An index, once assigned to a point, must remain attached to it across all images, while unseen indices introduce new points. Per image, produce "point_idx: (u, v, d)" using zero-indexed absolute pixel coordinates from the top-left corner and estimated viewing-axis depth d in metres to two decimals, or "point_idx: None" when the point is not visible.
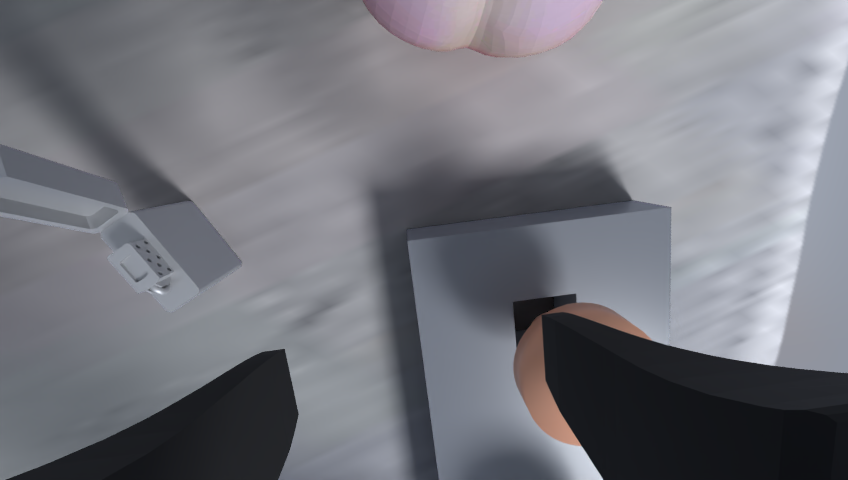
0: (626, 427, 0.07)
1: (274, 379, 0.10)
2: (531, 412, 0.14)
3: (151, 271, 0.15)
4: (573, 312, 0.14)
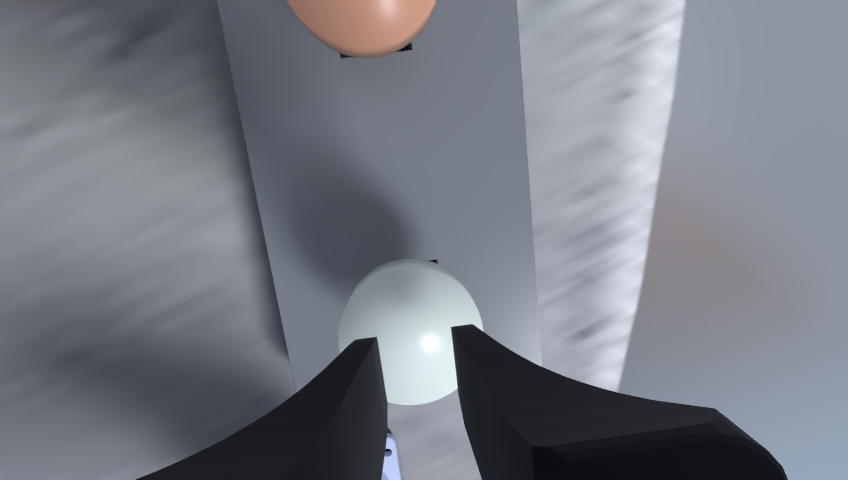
0: (489, 446, 0.07)
1: (375, 365, 0.10)
2: None
3: None
4: None
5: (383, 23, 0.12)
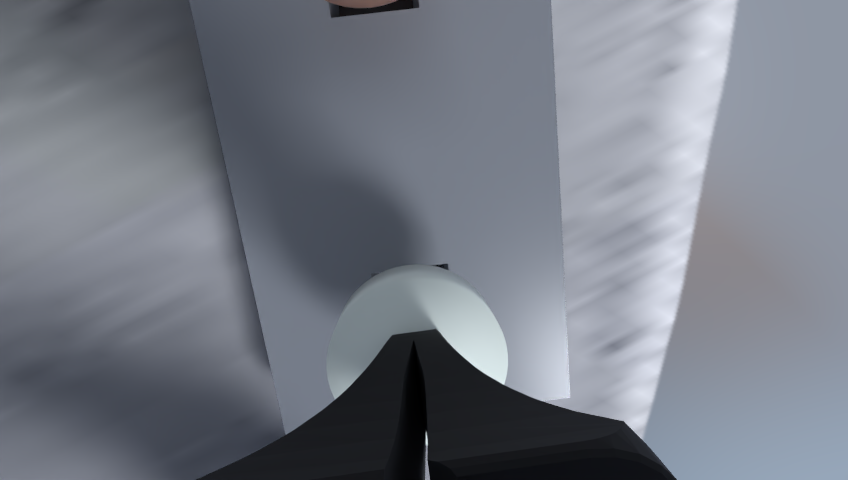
0: None
1: (415, 360, 0.10)
2: None
3: None
4: None
5: None
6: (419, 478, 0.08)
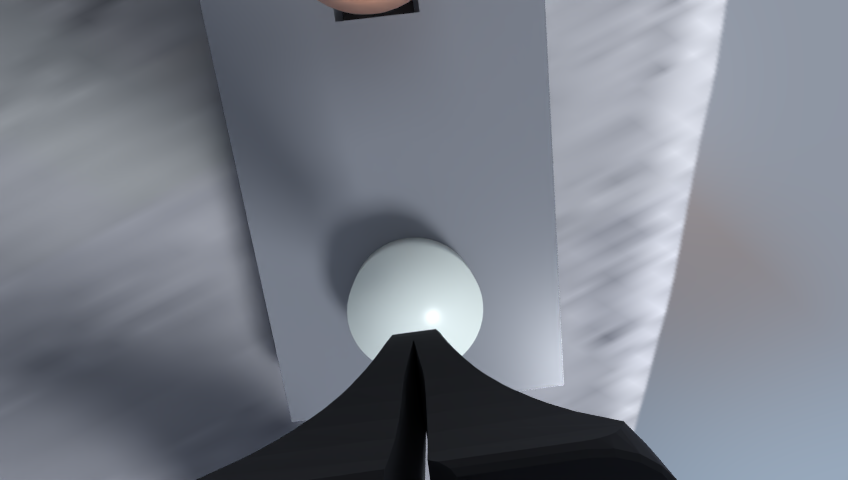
0: None
1: (415, 360, 0.10)
2: None
3: None
4: None
5: None
6: (419, 478, 0.08)
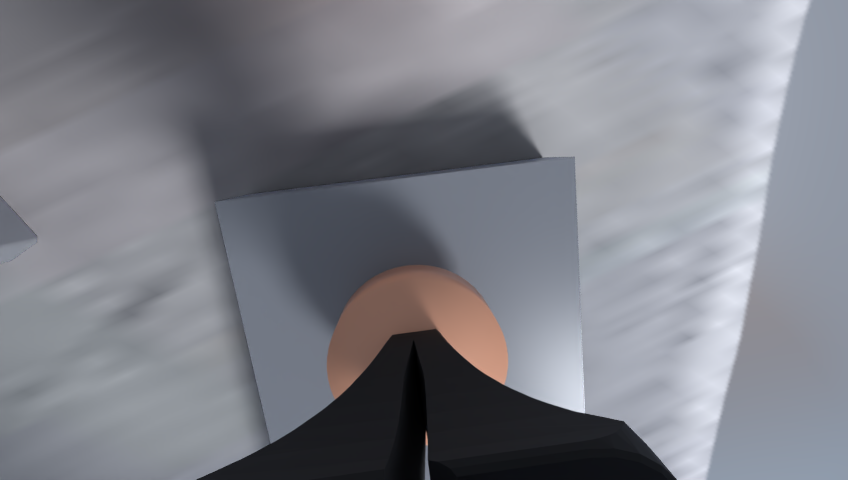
0: None
1: (416, 360, 0.10)
2: None
3: None
4: (394, 274, 0.11)
5: None
6: (419, 478, 0.08)
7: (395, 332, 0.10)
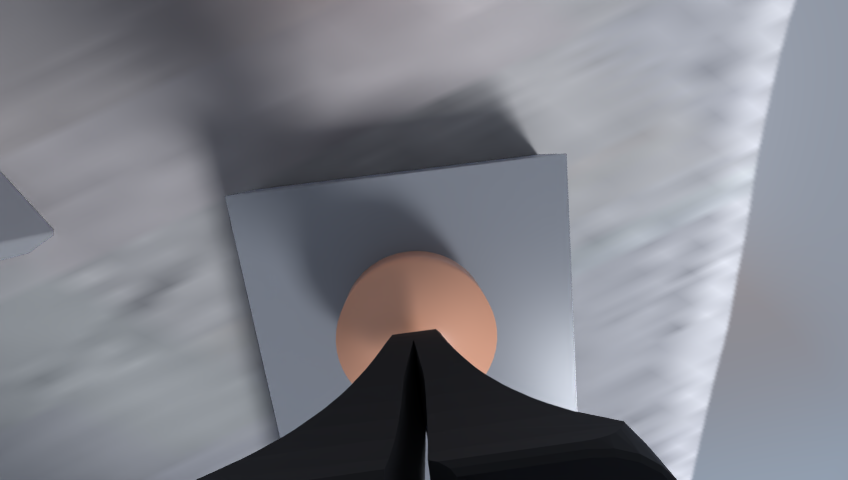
0: None
1: (415, 360, 0.10)
2: (346, 372, 0.12)
3: None
4: (396, 259, 0.12)
5: None
6: (419, 478, 0.08)
7: (396, 309, 0.12)
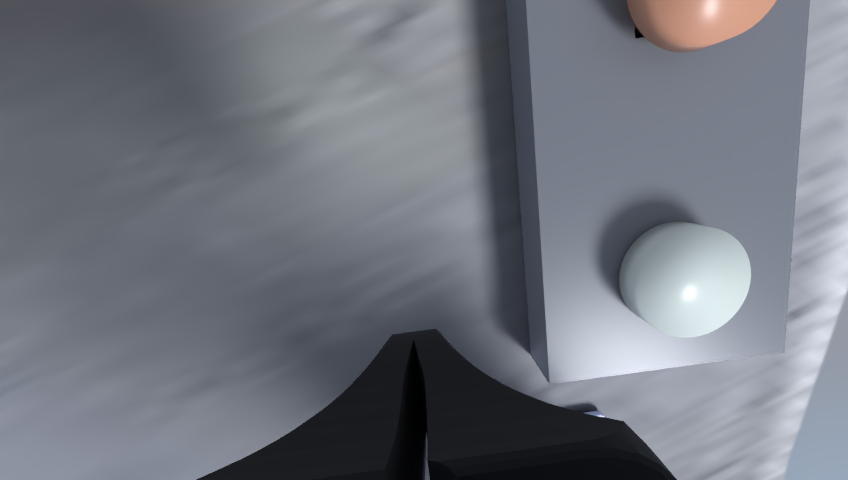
0: None
1: (415, 360, 0.10)
2: None
3: None
4: None
5: (730, 23, 0.14)
6: (419, 478, 0.08)
7: None
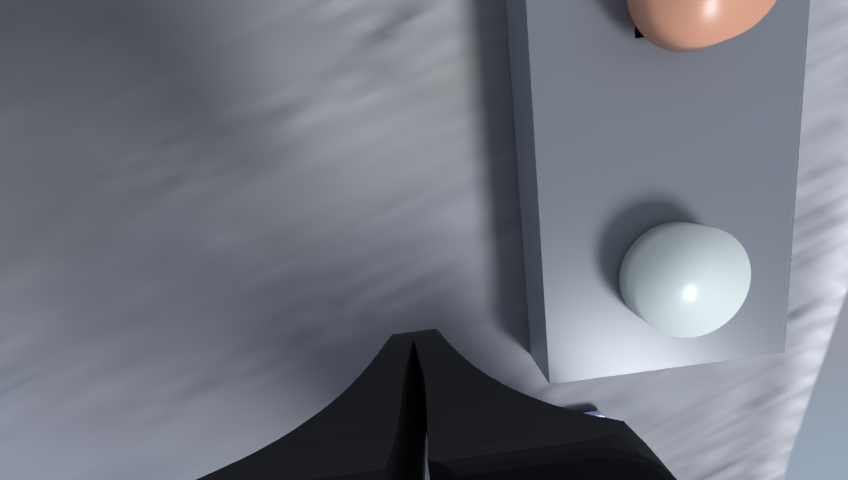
0: None
1: (415, 360, 0.10)
2: None
3: None
4: None
5: (730, 23, 0.14)
6: (419, 478, 0.08)
7: None
